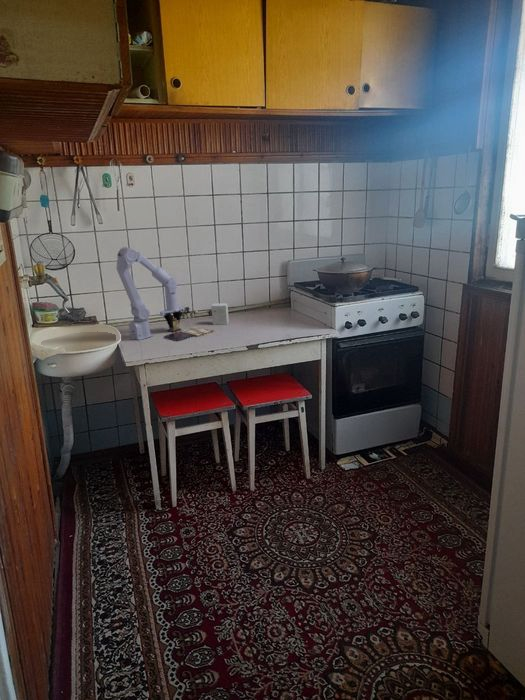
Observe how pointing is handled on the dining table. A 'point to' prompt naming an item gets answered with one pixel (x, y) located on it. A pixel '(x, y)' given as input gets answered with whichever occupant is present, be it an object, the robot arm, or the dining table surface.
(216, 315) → the small box
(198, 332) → the board
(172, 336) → the ink pad
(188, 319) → the dining table surface
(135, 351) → the dining table surface
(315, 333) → the dining table surface
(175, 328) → the stamp
